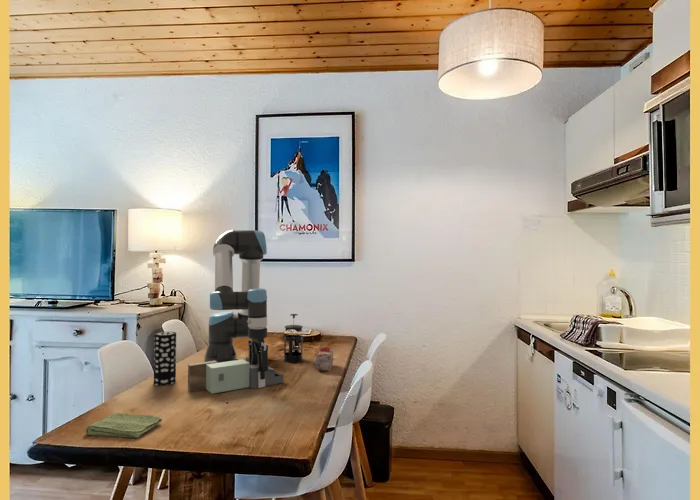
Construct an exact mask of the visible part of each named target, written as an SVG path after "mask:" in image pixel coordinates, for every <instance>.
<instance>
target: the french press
mask: <svg viewBox="0 0 700 500" xmlns="http://www.w3.org/2000/svg"><path fill="white" fill-rule="evenodd" d="M298 315H299V314H298V313H291V314H289V316H290V317H291V316H292V319H293V320H292V321H293V324H287V325H285V326H284V328H285V329H284V330H285V332H287V331H288V330H290V331H291V330H292V333H293V334H286V335H284V337H283V338H284V342H283V343H284V346H283V347H284V351H283V352H284V353H283V354H284V355H283V361H284V362H285V363H289V364H292V363H293V364H294V363H295V364H296V363H300V362H304V361H303V340H304V339H303V338H304V337H303V335H301V334H295V331H296V332H297V333H300V332H302V330H303V325H299V324H295V318H296V316H298ZM287 341H288V345H287ZM299 350H300V351H299Z"/></svg>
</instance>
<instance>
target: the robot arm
mask: <svg viewBox="0 0 700 500" xmlns="http://www.w3.org/2000/svg"><path fill="white" fill-rule="evenodd" d="M267 250H268V248H267V241H266V235H265V233H264V231H262V230H254V229H251V230H249V229H248V230H245V229H244V230H237V229H231V230H227V231H225V232H224V233H222V234H221V235H219V236H218V238H217V239H216V240H215V242H214V243H213V248H212V255H213V256H214V261H215V262H214V291H210V293H209V309H210V310H211V311H221V312H217V313H216V312H215V313H213V314H211V315H209V317H208V324H207V326H208V341H207V342H208V344H207V347H206V350H205V352H204V353H205V354H204V361H203V362H208V361H217V362H218V363H220V362H227V361H235V360H237V353H236V350H235V346H234V339H240V338H241V339H243V338H249V339H250V340H248V341H247V342H248V356H249V363H250V364H251V365H255V364H257V363H258V365H259V370H257V371H258V388H257V389H261V388H264V387H266V386H265V371H266V370H268V367H269V357H268V352H269V345H268V344H265V338H267V337H268V314H267V311H268V307H267V305H268V304H267V301H268V295H267V293H268V292H267V289H265V288H262V287H260V279H261V278H260V273H261V271H260V270H261V261H263V259H264V256H266V255H267V253H268V252H267ZM235 255H238V258H239V260H240V261H241V291H234V278H233V277H234V276H233V275H234V273H233V257H234V256H235ZM233 310H235V311H236V310H238V311H237V314H234V313H235V312H233Z"/></svg>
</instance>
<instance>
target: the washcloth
mask: <svg viewBox="0 0 700 500" xmlns="http://www.w3.org/2000/svg"><path fill="white" fill-rule="evenodd" d="M162 421H163V418H161V417H160V416H154V415H152V414H151V415H150V414H131V413H130V414H129V413H121V412H116V413H112V414H110V415H107V416H105V418H102V420H99V421H96V422H94V423H92V424H90V425H87V427H86V429H85V433H86V434H87V435H89V436H95V435H97V437H105V436H112V437H111V438H131V439H139V438H140V437H141V436H143V435H144V434H145V433H146V432H148V431H151V430H152V429H154V427H156V426H157V425H159V424H160V423H161V422H162ZM114 436H115V437H114Z"/></svg>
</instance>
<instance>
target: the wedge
mask: <svg viewBox="0 0 700 500" xmlns="http://www.w3.org/2000/svg"><path fill="white" fill-rule="evenodd" d="M257 370H259V365H258V364H255V365H250V376H249V387H248V388H250V389H251V390H253V389H259V388H258V371H257ZM284 379H285V378H284V374H282V373H280V372H278V371H276V369H275V368H272V367H271V366H268V370H266V371H265V387H268V386H273V385H276V384H282V383H284Z"/></svg>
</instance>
